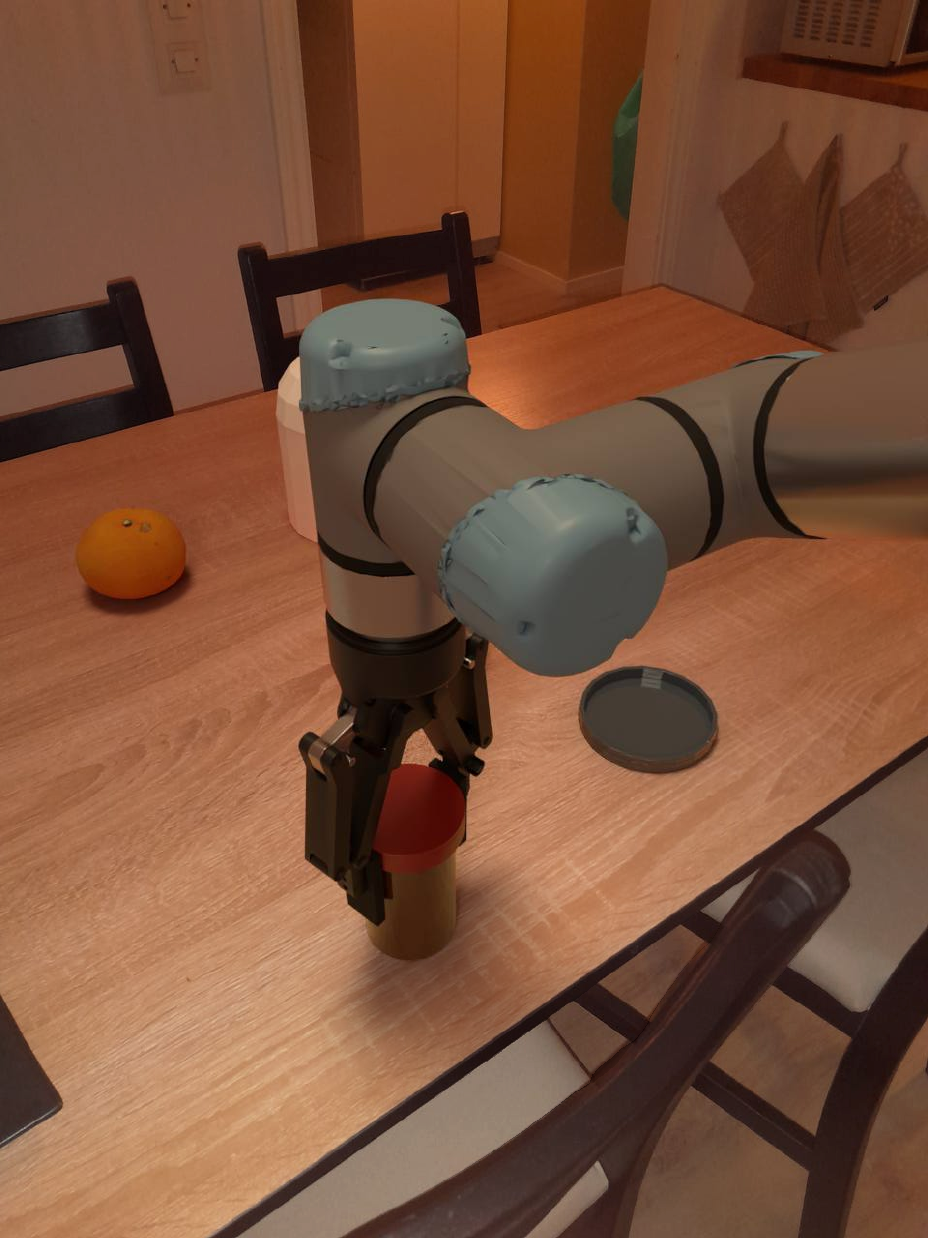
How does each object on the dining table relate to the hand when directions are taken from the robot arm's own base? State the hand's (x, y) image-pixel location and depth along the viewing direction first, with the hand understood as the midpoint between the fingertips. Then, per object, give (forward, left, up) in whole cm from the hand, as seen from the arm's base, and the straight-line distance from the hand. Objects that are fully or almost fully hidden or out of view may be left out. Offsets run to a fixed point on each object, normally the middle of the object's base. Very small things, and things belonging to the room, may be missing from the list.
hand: (408, 871), depth 65 cm
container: (+54, -12, -6) cm, 56 cm away
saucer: (+11, -26, -6) cm, 29 cm away
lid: (0, 0, +6) cm, 6 cm away
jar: (0, 0, -6) cm, 6 cm away
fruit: (+49, +12, -6) cm, 51 cm away
